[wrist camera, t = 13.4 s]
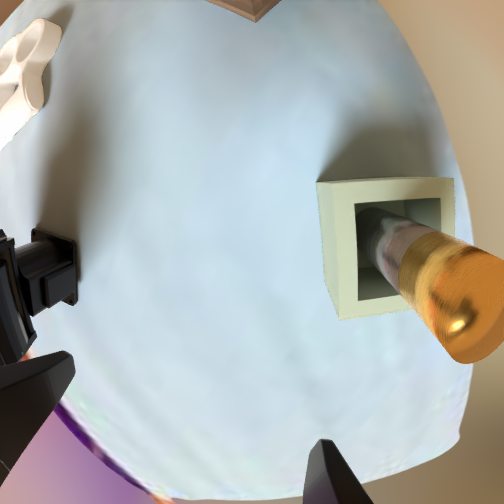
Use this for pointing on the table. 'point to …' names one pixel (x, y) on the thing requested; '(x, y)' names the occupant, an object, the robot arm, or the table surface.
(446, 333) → the gold and grey cylinder
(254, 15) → the brown square open box
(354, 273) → the cream square hollow block
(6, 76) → the knuckle duster
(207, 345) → the table surface
